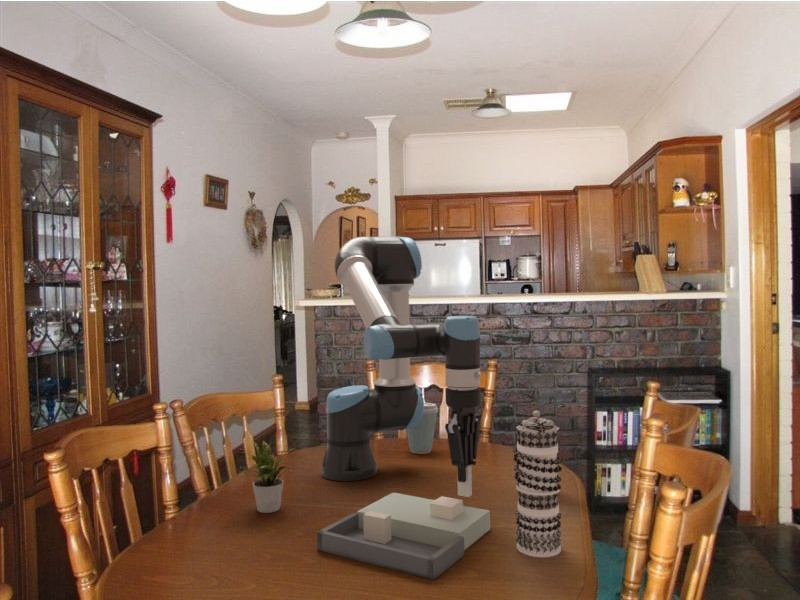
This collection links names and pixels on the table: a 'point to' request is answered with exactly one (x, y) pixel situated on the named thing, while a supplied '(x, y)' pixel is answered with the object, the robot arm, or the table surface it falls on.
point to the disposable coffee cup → (423, 431)
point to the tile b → (446, 507)
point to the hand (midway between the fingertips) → (464, 495)
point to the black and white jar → (538, 488)
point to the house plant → (267, 480)
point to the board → (428, 521)
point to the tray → (389, 550)
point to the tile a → (377, 527)
